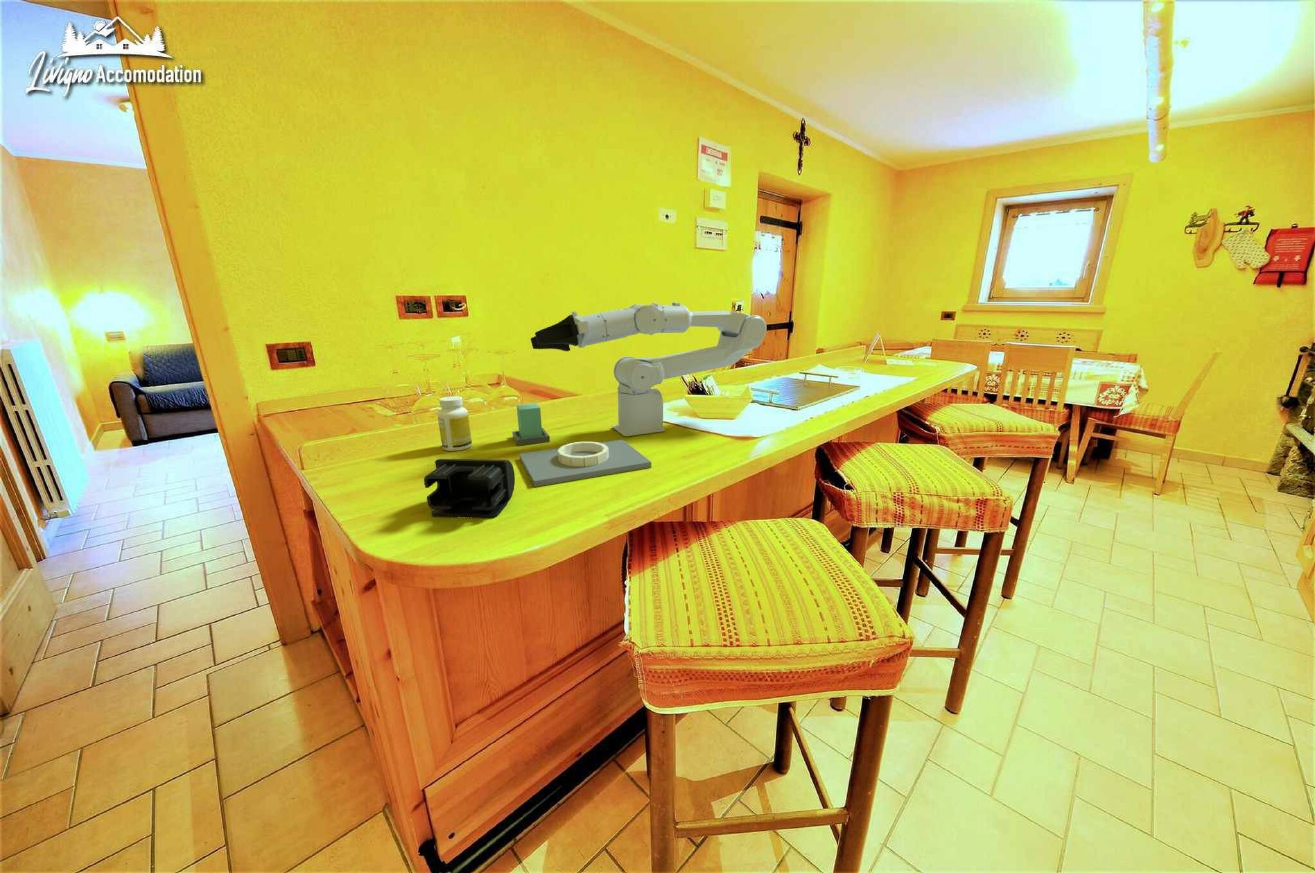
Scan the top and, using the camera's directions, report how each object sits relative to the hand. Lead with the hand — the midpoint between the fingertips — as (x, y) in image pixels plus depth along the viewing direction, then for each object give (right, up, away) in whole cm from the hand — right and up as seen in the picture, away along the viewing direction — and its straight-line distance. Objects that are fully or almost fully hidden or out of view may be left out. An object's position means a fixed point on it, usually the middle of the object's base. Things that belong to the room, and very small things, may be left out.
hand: (534, 341), depth 86 cm
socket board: (+10, -23, -6) cm, 26 cm away
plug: (-3, -19, +8) cm, 20 cm away
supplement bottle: (-16, -20, +3) cm, 26 cm away
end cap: (-3, -28, -22) cm, 36 cm away
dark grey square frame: (-3, -19, +8) cm, 20 cm away
